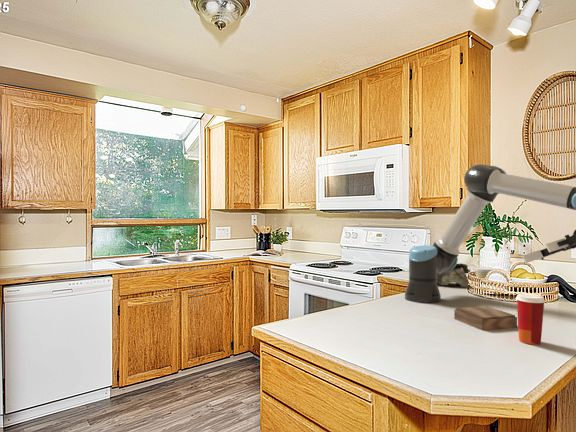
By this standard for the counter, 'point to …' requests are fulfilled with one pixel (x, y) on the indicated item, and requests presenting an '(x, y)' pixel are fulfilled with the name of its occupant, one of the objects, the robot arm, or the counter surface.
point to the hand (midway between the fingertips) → (535, 254)
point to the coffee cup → (482, 271)
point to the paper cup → (530, 318)
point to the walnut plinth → (485, 318)
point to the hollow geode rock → (454, 276)
